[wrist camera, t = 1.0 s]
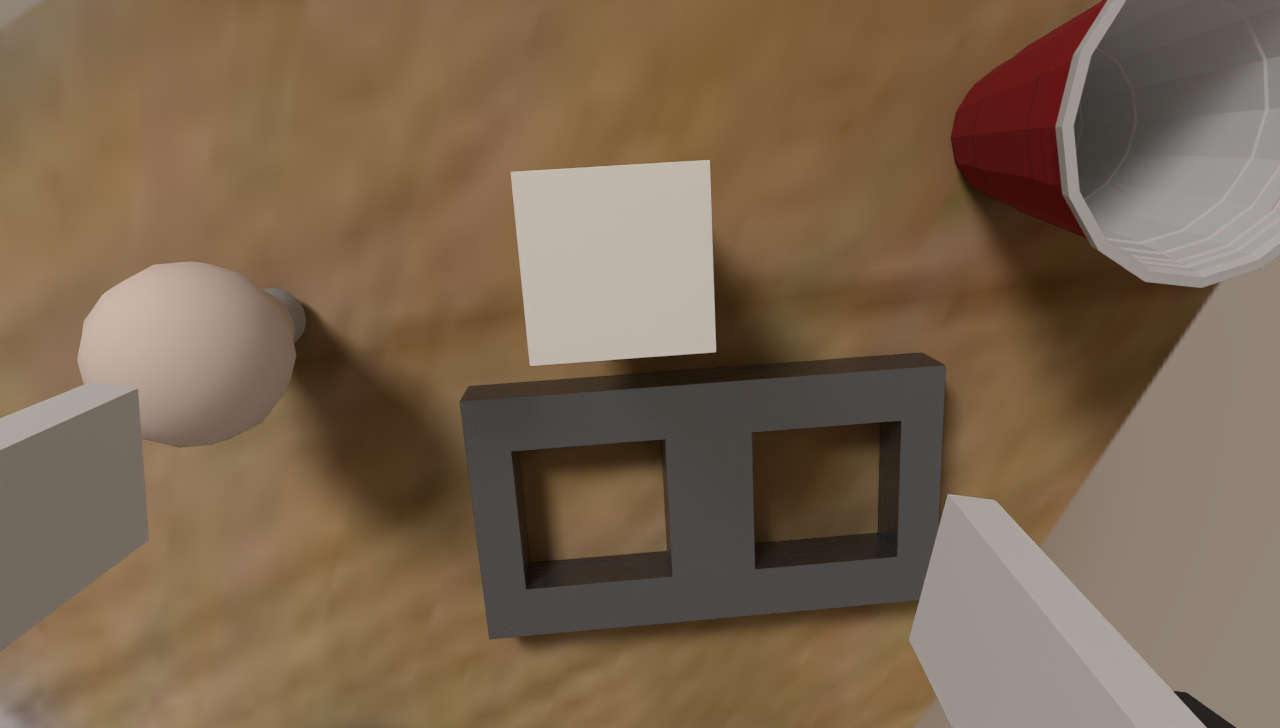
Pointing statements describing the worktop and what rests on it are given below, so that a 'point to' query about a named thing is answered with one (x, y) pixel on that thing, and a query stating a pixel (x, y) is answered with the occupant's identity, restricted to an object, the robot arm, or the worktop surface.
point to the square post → (616, 261)
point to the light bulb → (194, 349)
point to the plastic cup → (1141, 135)
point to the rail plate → (706, 492)
